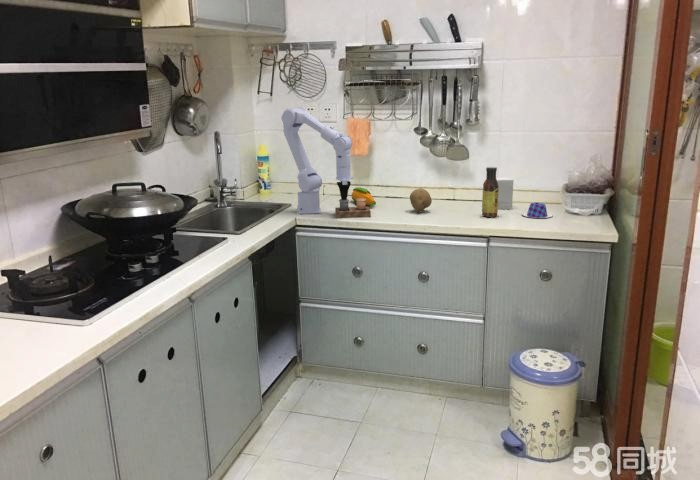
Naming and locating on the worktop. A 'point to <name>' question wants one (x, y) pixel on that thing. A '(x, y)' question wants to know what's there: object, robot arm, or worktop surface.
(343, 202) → the grey plug
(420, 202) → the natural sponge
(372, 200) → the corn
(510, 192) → the supplement box
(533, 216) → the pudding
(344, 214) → the socket board
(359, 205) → the terracotta plug
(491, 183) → the sauce bottle
